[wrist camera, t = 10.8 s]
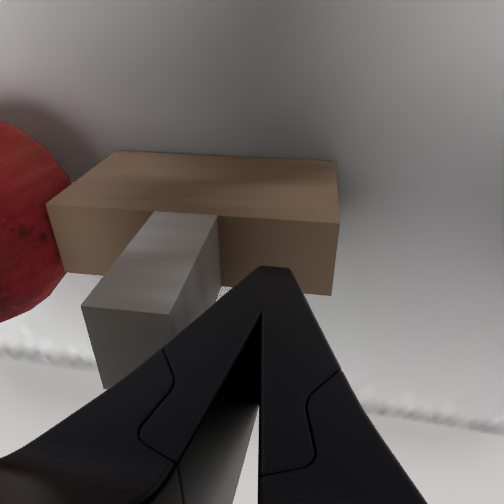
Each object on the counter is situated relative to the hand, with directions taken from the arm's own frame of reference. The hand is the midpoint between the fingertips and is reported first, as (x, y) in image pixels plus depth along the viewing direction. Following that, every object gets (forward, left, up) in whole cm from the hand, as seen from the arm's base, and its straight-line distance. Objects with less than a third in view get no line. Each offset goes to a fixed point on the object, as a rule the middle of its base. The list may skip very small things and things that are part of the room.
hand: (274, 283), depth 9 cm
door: (+2, 0, -5) cm, 6 cm away
